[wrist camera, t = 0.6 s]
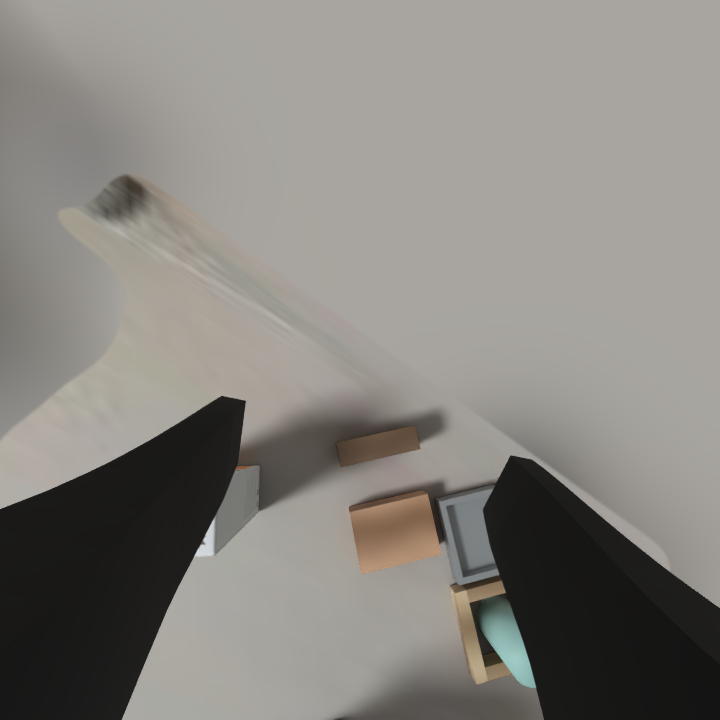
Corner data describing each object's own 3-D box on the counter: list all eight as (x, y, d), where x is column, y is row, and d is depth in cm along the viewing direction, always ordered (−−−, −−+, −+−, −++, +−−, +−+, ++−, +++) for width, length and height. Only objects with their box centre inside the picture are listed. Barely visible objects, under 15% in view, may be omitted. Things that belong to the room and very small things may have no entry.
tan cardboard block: (433, 545, 33) (441, 554, 31) (359, 563, 33) (361, 574, 30) (421, 489, 34) (427, 494, 32) (348, 506, 34) (349, 512, 31)
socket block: (544, 650, 32) (554, 660, 30) (469, 672, 31) (476, 684, 30) (522, 566, 33) (530, 572, 32) (449, 585, 32) (455, 593, 31)
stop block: (412, 447, 35) (420, 448, 31) (340, 463, 34) (340, 466, 30) (407, 426, 35) (415, 425, 31) (335, 441, 34) (335, 443, 31)
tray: (515, 561, 33) (524, 568, 32) (453, 578, 33) (459, 585, 31) (494, 483, 34) (502, 486, 33) (434, 498, 34) (439, 501, 32)
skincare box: (260, 463, 33) (220, 481, 22) (259, 512, 33) (217, 559, 21) (193, 465, 33) (114, 485, 21) (189, 515, 32) (106, 564, 20)
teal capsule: (521, 634, 32) (562, 680, 26) (483, 645, 32) (516, 694, 26) (509, 590, 33) (548, 625, 27) (472, 601, 32) (502, 639, 26)
